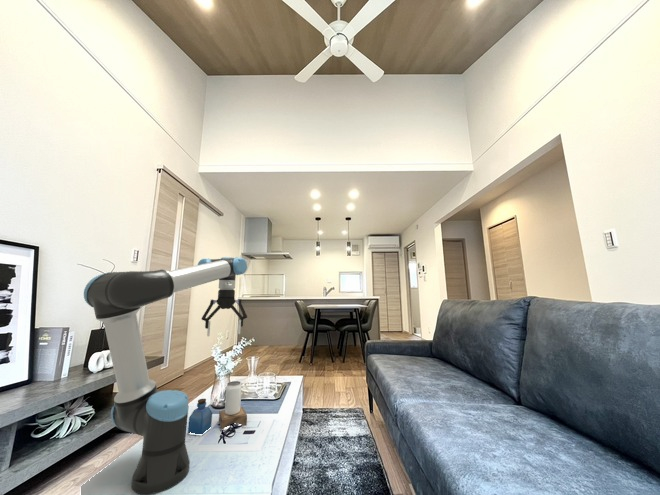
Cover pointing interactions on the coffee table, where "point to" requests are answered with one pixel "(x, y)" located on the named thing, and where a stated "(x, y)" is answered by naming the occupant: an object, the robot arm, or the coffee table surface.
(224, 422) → the plinth
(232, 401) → the can
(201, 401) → the perfume bottle
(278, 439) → the coffee table surface
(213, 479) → the coffee table surface
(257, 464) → the coffee table surface
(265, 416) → the coffee table surface
